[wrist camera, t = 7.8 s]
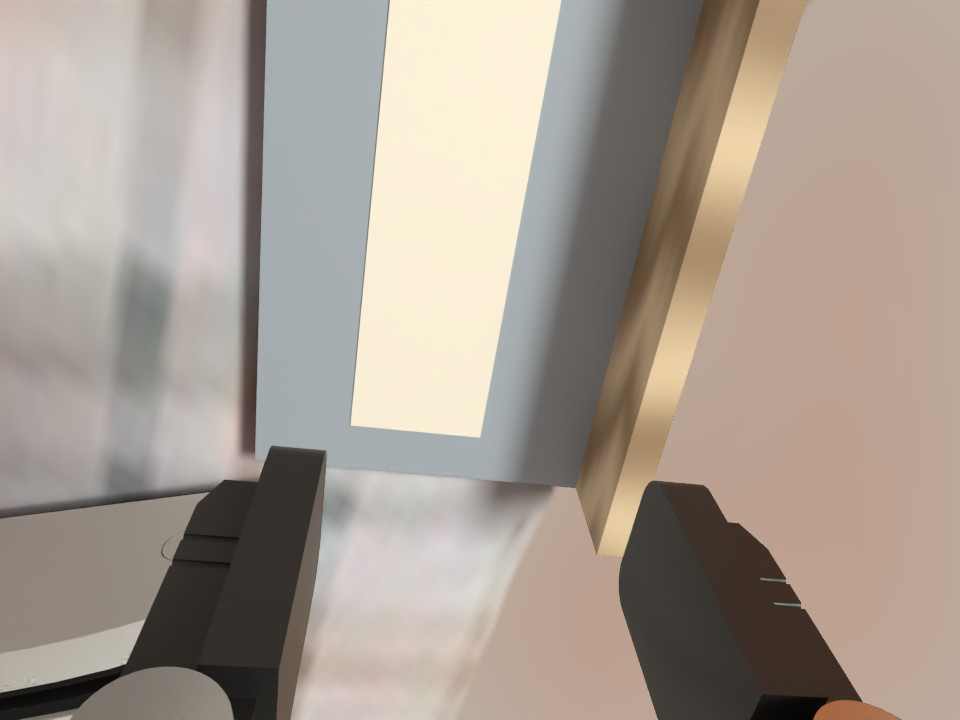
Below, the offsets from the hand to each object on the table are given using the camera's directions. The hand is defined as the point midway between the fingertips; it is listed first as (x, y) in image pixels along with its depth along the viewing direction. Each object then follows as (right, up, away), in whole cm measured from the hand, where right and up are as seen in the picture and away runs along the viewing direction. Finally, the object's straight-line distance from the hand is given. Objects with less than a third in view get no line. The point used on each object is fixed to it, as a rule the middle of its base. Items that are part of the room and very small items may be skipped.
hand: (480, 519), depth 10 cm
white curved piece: (-15, -5, +21) cm, 26 cm away
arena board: (0, +8, +15) cm, 17 cm away
